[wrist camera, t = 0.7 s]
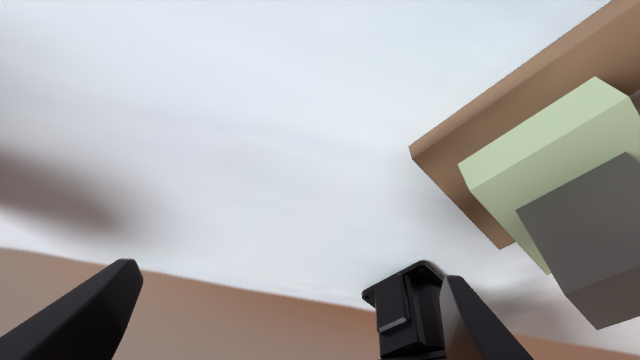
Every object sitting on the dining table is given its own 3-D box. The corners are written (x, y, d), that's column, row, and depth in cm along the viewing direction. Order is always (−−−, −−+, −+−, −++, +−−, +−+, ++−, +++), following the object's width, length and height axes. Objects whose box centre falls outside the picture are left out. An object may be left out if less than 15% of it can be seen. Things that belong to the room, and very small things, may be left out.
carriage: (657, 183, 19) (802, 303, 13) (529, 244, 22) (596, 363, 16) (594, 76, 16) (744, 165, 10) (457, 164, 19) (506, 272, 13)
